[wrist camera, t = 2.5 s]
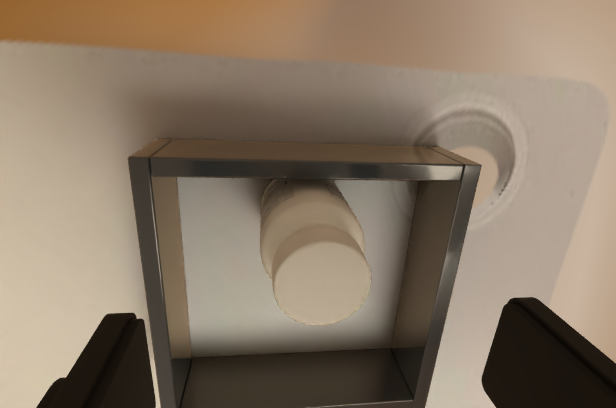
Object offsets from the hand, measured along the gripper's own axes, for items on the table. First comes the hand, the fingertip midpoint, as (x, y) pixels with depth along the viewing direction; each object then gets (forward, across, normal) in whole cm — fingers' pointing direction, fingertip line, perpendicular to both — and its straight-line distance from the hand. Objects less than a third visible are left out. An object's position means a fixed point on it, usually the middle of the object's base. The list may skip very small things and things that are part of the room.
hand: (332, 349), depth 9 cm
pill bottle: (+11, 0, 0) cm, 11 cm away
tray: (+11, 0, +4) cm, 11 cm away
